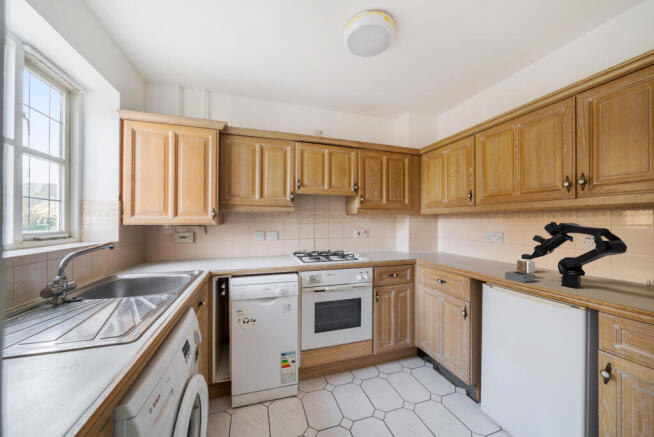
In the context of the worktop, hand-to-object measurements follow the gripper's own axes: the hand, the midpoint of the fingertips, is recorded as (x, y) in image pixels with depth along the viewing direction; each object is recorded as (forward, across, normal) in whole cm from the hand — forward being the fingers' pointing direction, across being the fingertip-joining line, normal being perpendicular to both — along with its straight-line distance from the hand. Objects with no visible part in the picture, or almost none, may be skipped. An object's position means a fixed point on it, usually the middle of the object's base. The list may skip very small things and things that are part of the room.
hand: (531, 258), depth 150 cm
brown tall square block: (+12, 0, +6) cm, 13 cm away
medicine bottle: (+14, -22, +4) cm, 26 cm away
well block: (+11, +10, +6) cm, 16 cm away
